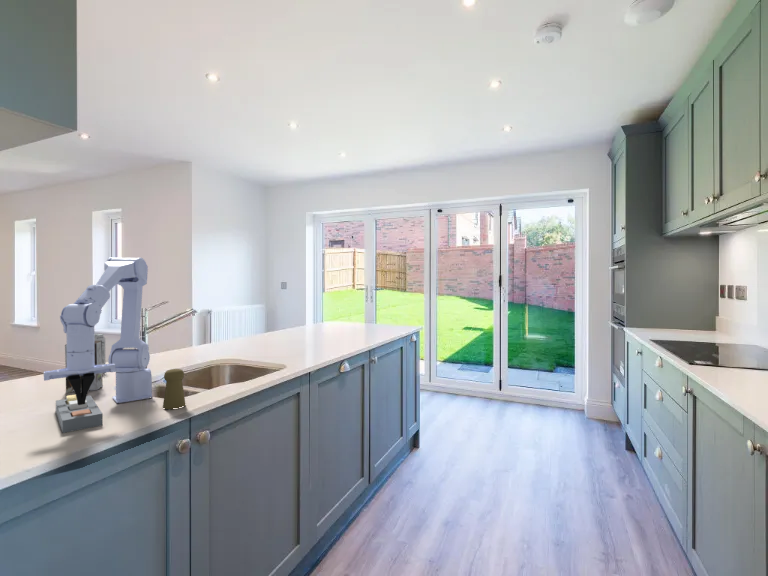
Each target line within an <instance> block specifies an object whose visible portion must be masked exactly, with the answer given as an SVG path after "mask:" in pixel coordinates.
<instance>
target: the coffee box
mask: <svg viewBox="0 0 768 576" xmlns="http://www.w3.org/2000/svg"><path fill="white" fill-rule="evenodd" d="M94 343H95V365H102V340H101V341H94ZM64 354H65V355H64V357H65V358H64V360H65V361H64V362H65V364H64V365H65V368H67V343H65V345H64ZM94 376H95V378H94V381H93V382H92V384H91V386H90V388H89V390H90V391H97V390H99V389H101V388H102V387H103V386H104V385H103V382H104V381H103V373H97V374H94ZM80 377H81V376H80ZM100 387H101V388H100ZM73 391H74V389H73V387H72V385H71V384H70V382H69V380H68V378H67V377H65V393H66V392H67V393H74V392H73Z"/></svg>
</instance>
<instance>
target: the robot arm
mask: <svg viewBox="0 0 768 576" xmlns="http://www.w3.org/2000/svg"><path fill="white" fill-rule="evenodd" d="M148 267H149V266H148V264H147V262H146V260H145V259H144V258H143V257H113V256H112V257H111V256H110V257H108V258H107V260H106V261H105V262H104V268H103V269H104V272H103V274H101V276H100V277H99V279H98V281H97V282H96V284H91V285H88V286H87V287H86V289H85V290H84V291H83V292H82V293H81V295H80V296H79V297H78V298H77V299H76V300H75V302H73V303H71V304H70V303H68V304H67V305H66V306H64V307H63V308H62V310H61V312H60V315H59V319H60V323H61V325H62V327H63V333H64V334H66V344H67V368H66V367H65V368H59V369H54V370H53V369H52V370H45V371H43V381H50V380H55V379H64V378H65V379H66V377H67V378H68V380H69V382H70V384H71V385H72V387H73V389H74V392H73V393H74V395H76V398H77V404H78V405H82V404H85V401H86V396H88V392H89V388H90V386H91V384H92V382H93V381H94V378H95V376H94V374H97V373H102V374H105V373H115V395H114V396H112V397H111V398H112V399H113V400H114V402H115V403H116V404H121V403H127V402H133V401H139V400H146V399H152V398H153V391H152V390H153V388H152V387H153V385H152V384H153V382H152V381H153V380H152V379H153V377H152V371H151V369H150V368H147V367H148V365H149V364H150V360H151V359H150V357H151V356H150V351H149V350H150V349H149V344H148V343H147V342H145V341H144V340H142V339H141V338H140V332H141V331H140V330H141V316H142V303H143V302H142V301H143V287H144V286H145V285H147V283H148V272H149V269H148ZM116 285H118V286H120V287H122V289H123V296H122V311H121V326H120V328H121V329H120V338H119V340H117V341H116V342H114V343H113V344H112V345H111V349H110V353H109V355H108V359H107V361H108V362H107V364H106V363H105V364H103V365H95V343H94V334H95V326H97V324H98V323H99V321H100V318H101V314H102V309H103V308H104V306H105V305H106V304H107V302H108V301H109V300H110V297H111V293H110V291H111V290H113V288H115V286H116ZM127 348H129V349H127ZM80 376H81V377H80ZM150 397H151V398H150Z"/></svg>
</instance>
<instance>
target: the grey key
mask: <svg viewBox="0 0 768 576" xmlns="http://www.w3.org/2000/svg"><path fill="white" fill-rule="evenodd" d="M86 407H87V401H85V404H82V405H78V404H77V400H75V401H69V410H73V409H80V408H86Z"/></svg>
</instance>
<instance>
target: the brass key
mask: <svg viewBox="0 0 768 576" xmlns="http://www.w3.org/2000/svg"><path fill="white" fill-rule="evenodd" d="M65 397H66V398H65V399H66V404H69V401H75V400H77V398H76V394H70V395H69V394H68V395H66V396H65Z"/></svg>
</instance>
